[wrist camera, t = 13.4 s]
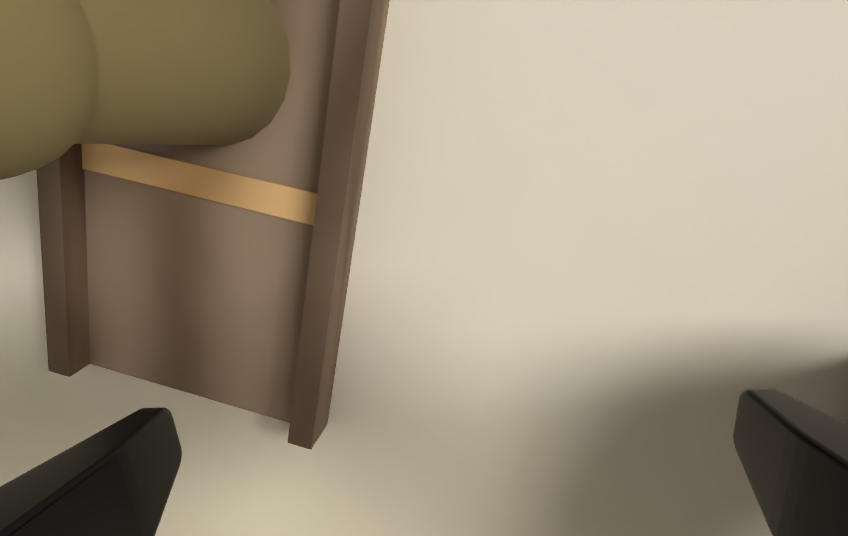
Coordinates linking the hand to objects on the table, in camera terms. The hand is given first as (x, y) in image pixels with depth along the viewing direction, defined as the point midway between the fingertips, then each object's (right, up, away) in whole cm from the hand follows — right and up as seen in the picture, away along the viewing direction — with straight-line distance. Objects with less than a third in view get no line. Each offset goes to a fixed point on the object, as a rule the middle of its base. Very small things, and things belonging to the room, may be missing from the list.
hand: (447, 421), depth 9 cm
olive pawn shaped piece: (-8, +10, +11) cm, 17 cm away
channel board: (-8, +7, +13) cm, 17 cm away
